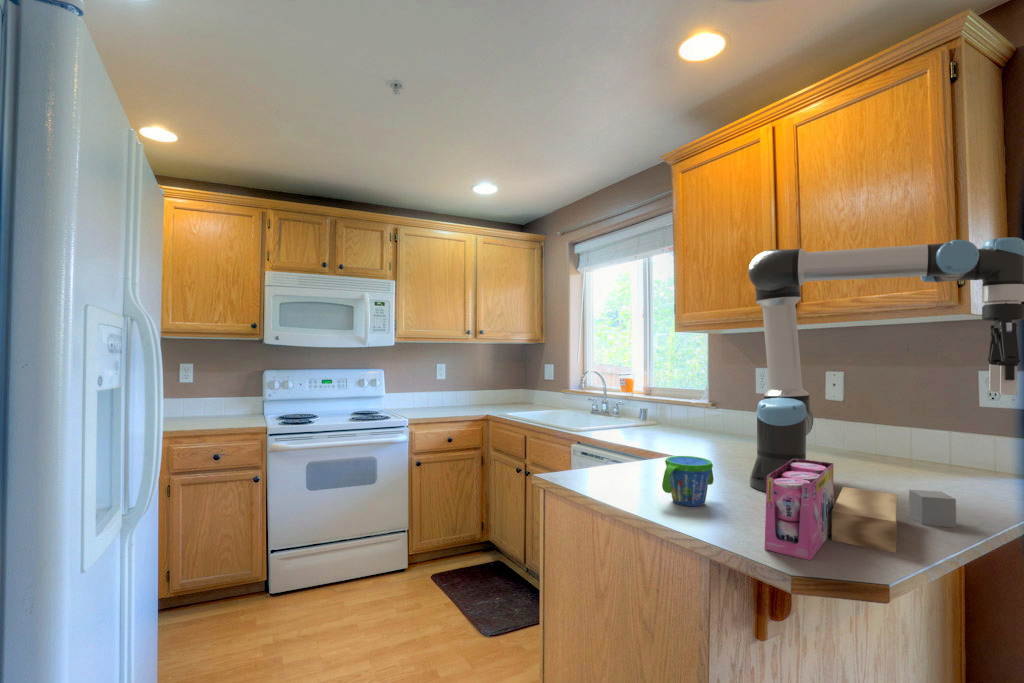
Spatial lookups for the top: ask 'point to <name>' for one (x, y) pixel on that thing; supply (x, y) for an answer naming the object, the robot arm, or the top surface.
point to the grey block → (932, 508)
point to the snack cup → (687, 479)
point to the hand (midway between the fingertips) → (1002, 392)
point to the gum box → (799, 507)
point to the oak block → (865, 519)
